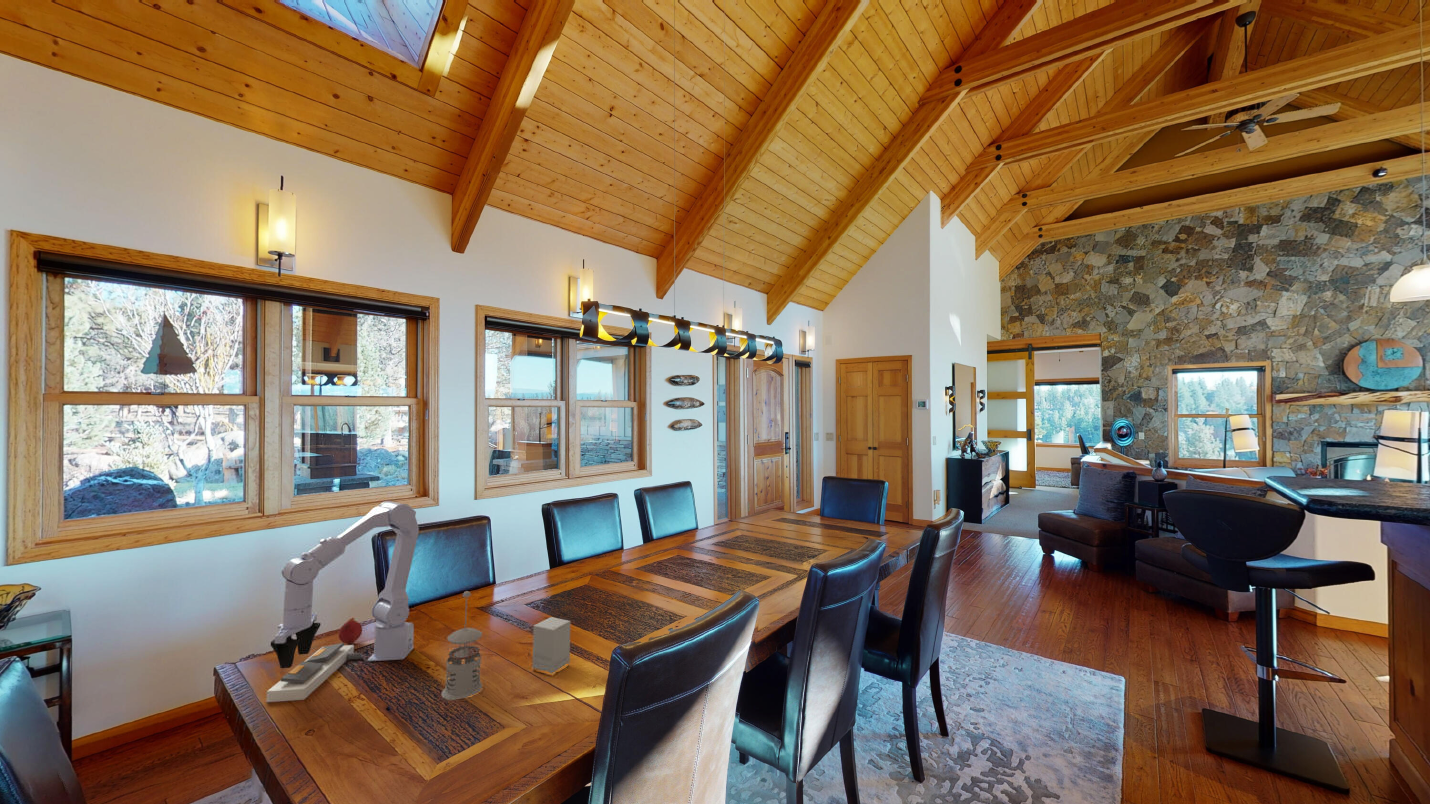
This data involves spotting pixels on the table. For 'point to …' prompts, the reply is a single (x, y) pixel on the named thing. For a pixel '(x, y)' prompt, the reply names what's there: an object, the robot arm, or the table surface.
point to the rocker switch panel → (302, 690)
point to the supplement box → (551, 644)
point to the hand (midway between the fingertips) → (295, 660)
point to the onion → (350, 631)
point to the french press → (465, 675)
